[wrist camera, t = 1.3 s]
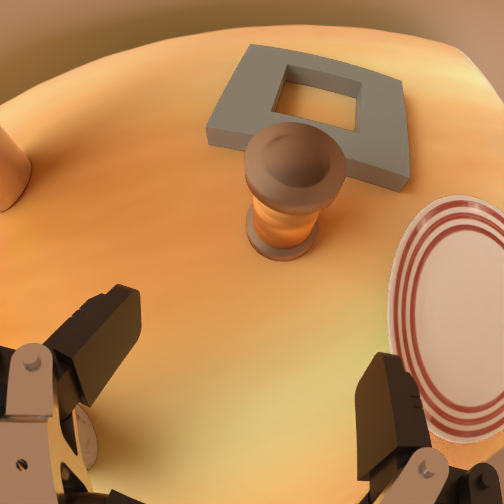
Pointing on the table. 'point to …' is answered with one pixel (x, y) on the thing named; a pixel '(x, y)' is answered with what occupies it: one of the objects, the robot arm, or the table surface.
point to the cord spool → (290, 186)
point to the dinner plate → (452, 315)
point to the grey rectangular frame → (352, 143)
